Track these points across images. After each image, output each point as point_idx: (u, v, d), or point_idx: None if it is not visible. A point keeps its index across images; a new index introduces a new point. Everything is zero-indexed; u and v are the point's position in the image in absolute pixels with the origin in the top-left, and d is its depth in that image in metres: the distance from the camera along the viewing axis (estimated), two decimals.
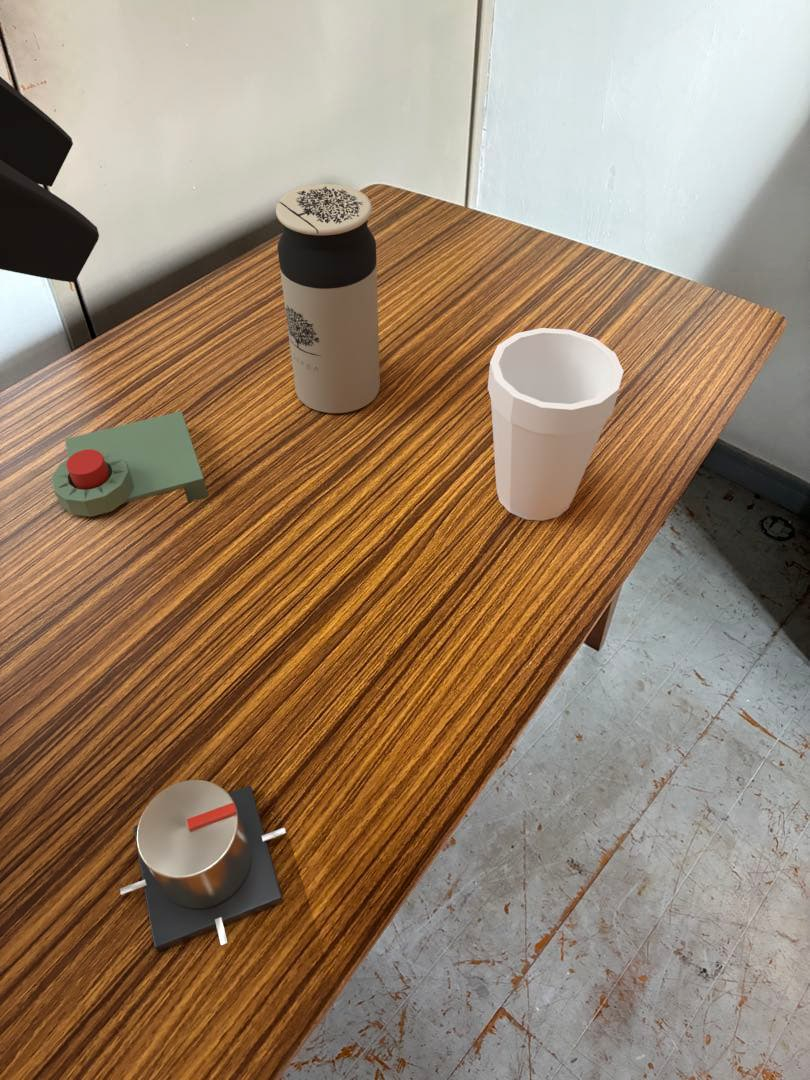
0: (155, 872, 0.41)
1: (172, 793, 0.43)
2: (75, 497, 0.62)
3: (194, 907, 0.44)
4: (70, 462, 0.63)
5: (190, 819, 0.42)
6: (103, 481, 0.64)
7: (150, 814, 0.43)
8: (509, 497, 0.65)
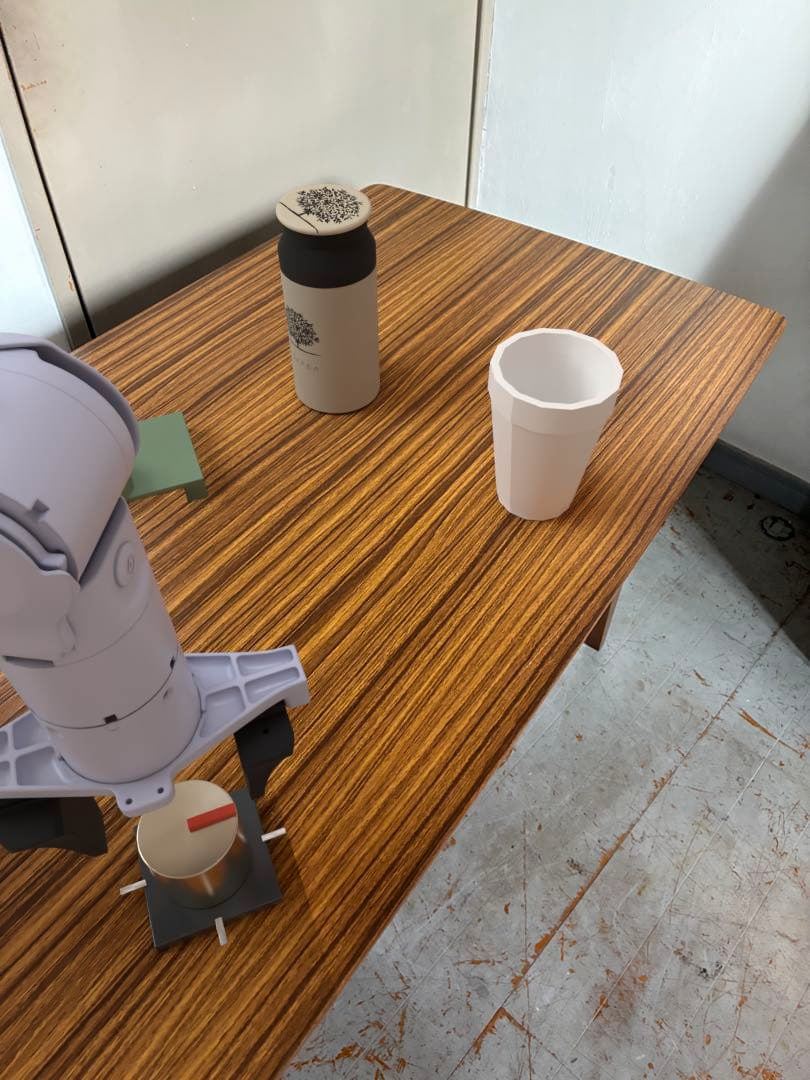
0: (155, 872, 0.41)
1: None
2: None
3: (194, 907, 0.44)
4: None
5: (190, 819, 0.42)
6: None
7: (150, 814, 0.43)
8: (509, 497, 0.65)
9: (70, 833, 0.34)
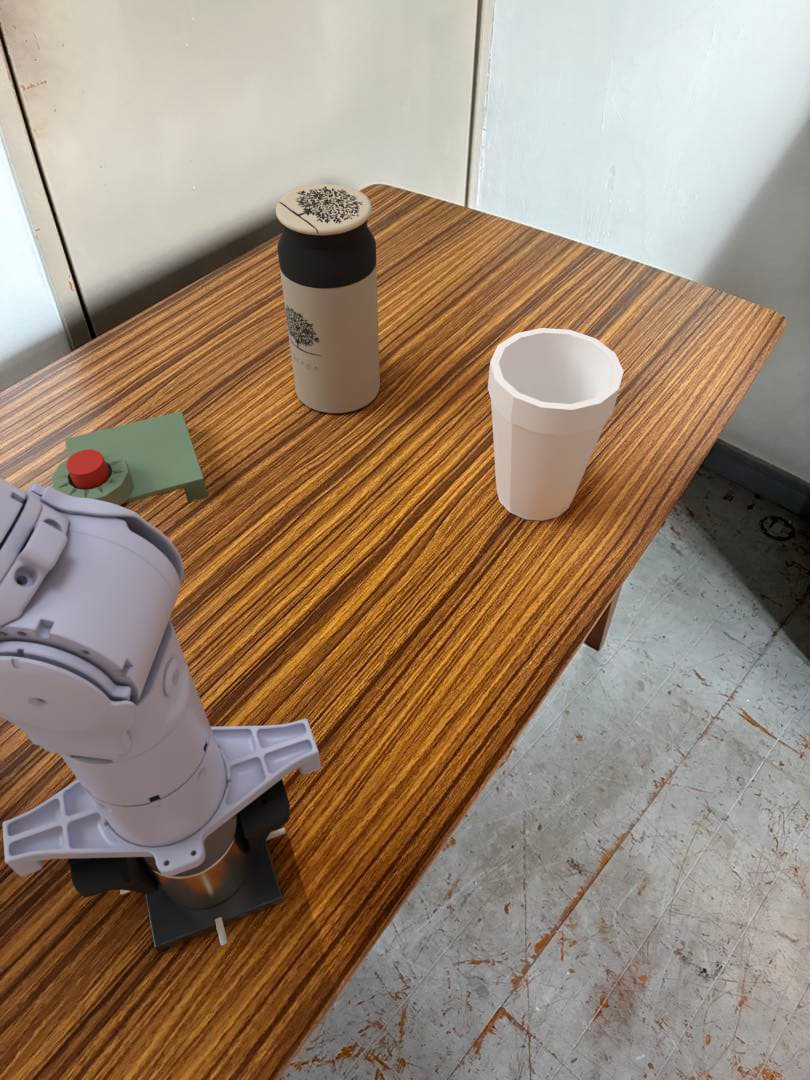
0: (155, 872, 0.41)
1: None
2: None
3: (194, 907, 0.44)
4: (70, 462, 0.63)
5: None
6: (103, 481, 0.64)
7: None
8: (509, 497, 0.65)
9: (133, 878, 0.39)
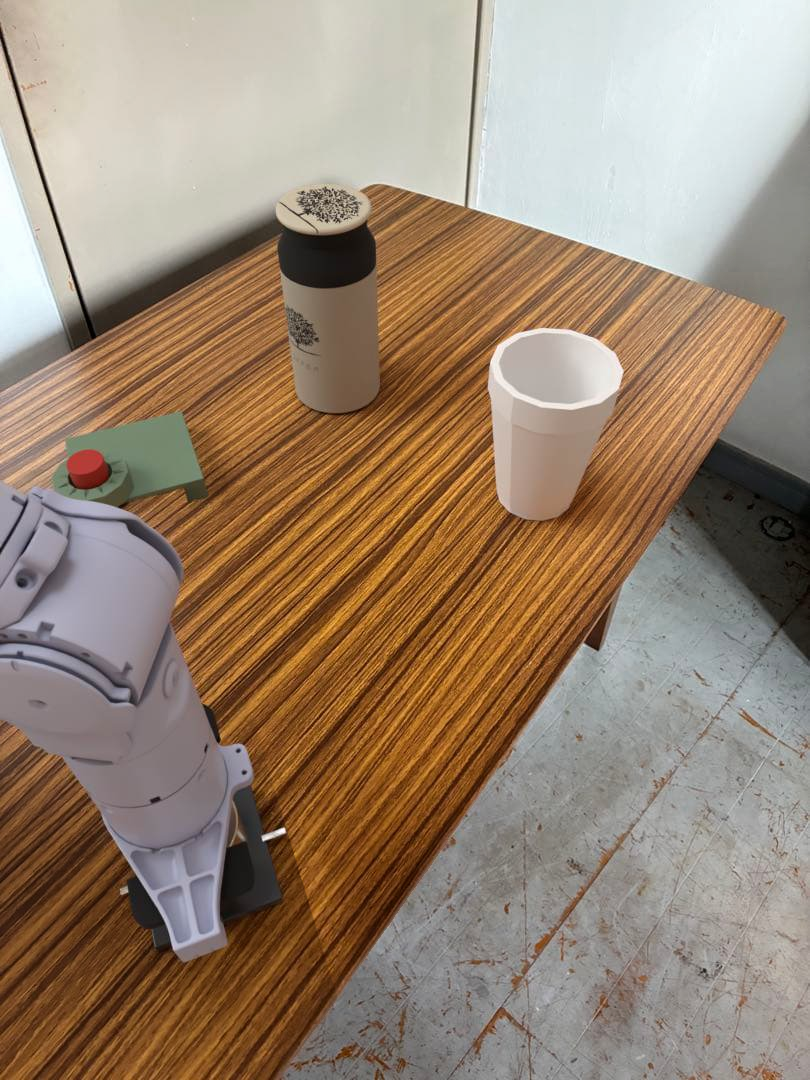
0: None
1: None
2: (75, 497, 0.62)
3: None
4: (70, 462, 0.63)
5: None
6: (103, 481, 0.64)
7: None
8: (509, 497, 0.65)
9: None
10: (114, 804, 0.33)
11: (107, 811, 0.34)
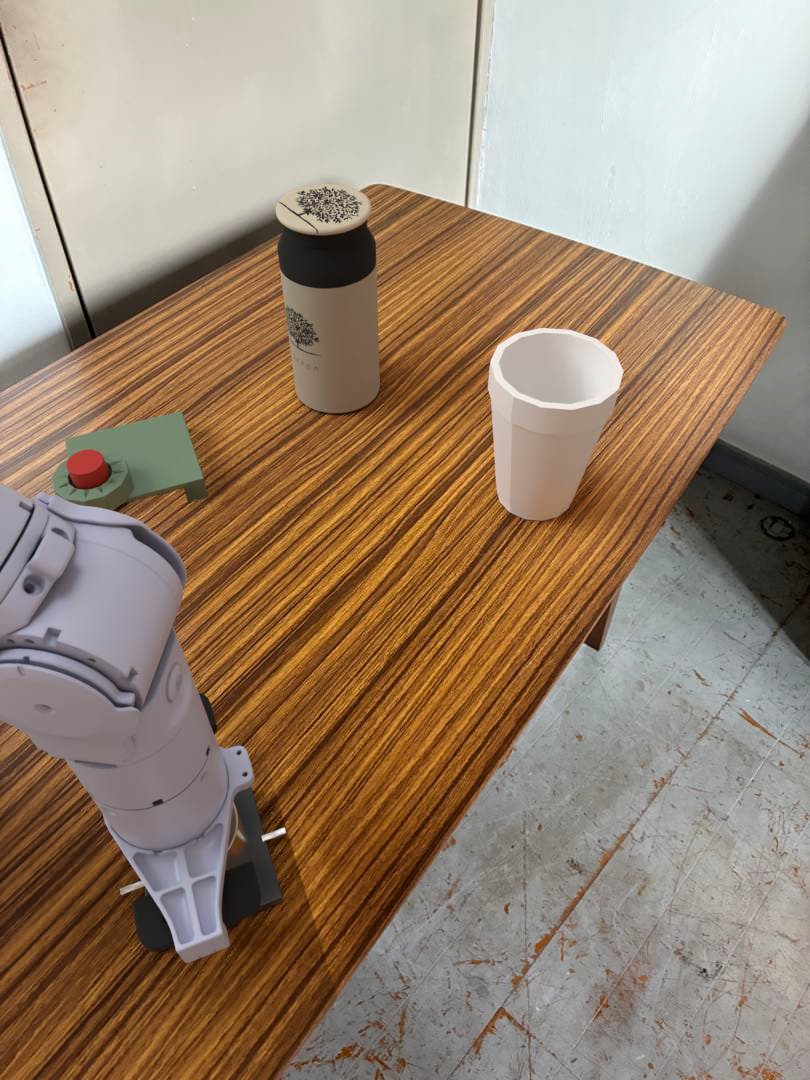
0: (228, 851, 0.41)
1: None
2: (75, 497, 0.62)
3: (250, 860, 0.46)
4: (70, 462, 0.63)
5: None
6: (103, 481, 0.64)
7: None
8: (509, 497, 0.65)
9: None
10: (117, 807, 0.33)
11: (110, 814, 0.34)
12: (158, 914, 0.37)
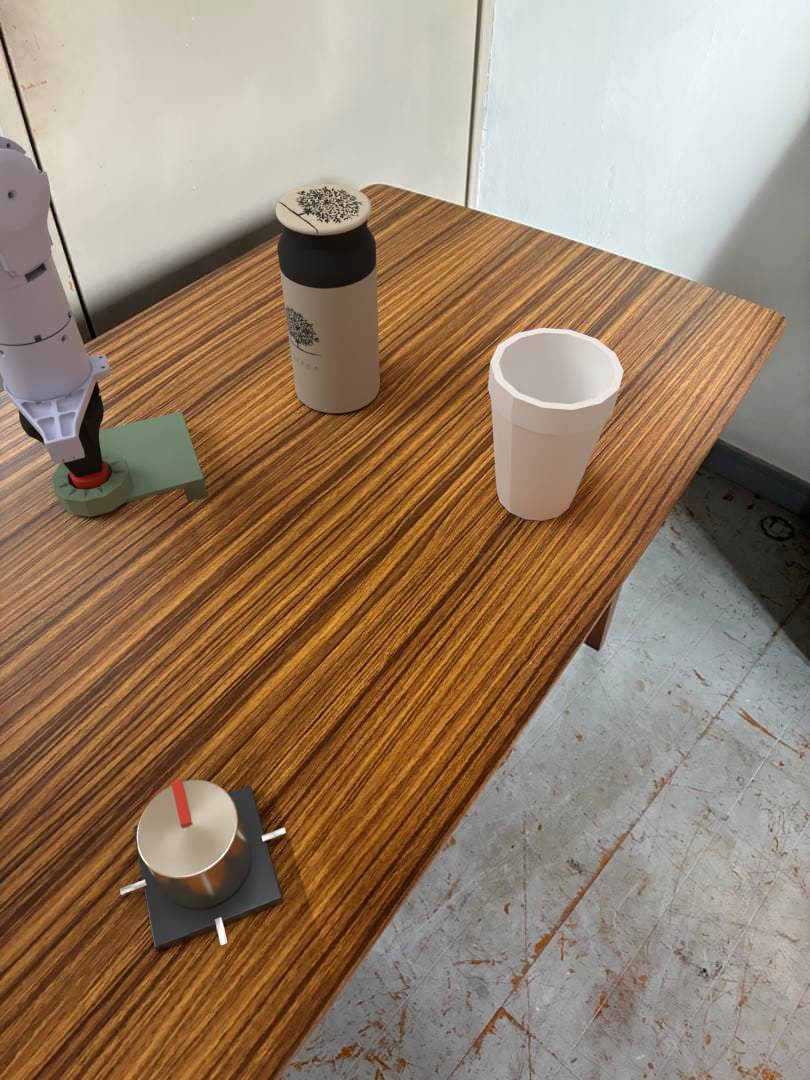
0: (228, 851, 0.41)
1: (148, 848, 0.41)
2: (75, 497, 0.62)
3: (250, 860, 0.46)
4: None
5: (181, 821, 0.42)
6: None
7: (167, 866, 0.41)
8: (509, 497, 0.65)
9: None
10: (56, 329, 0.52)
11: (1, 356, 0.52)
12: None
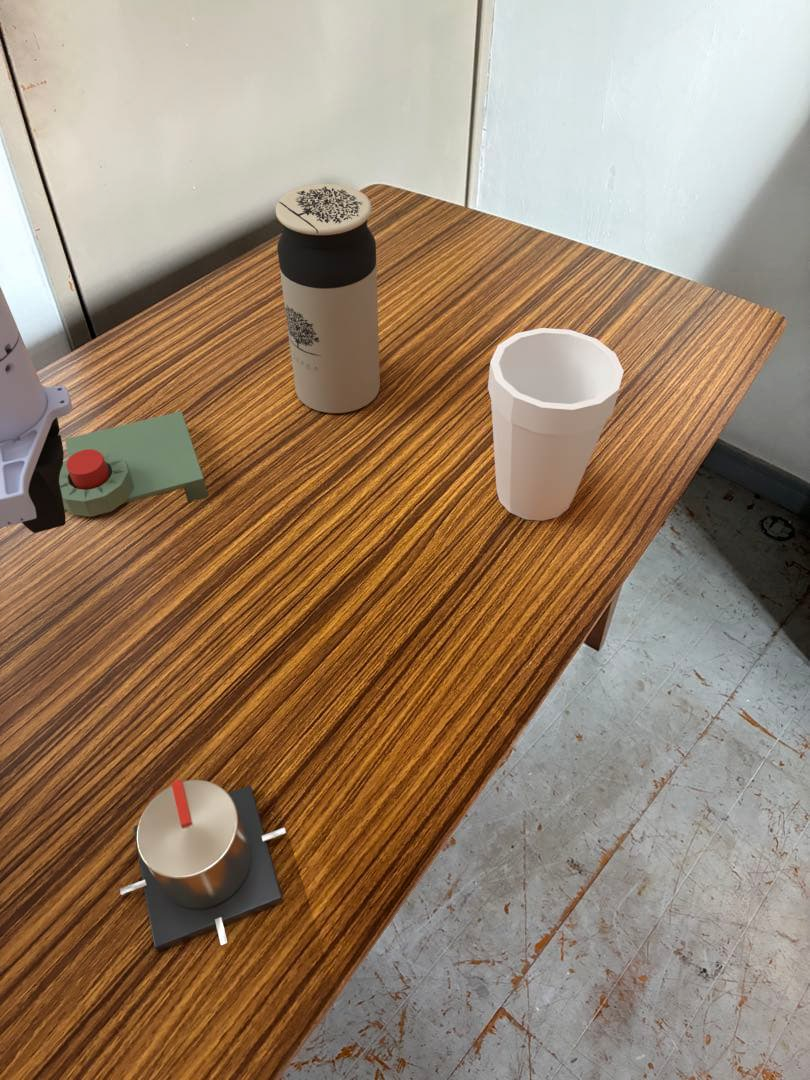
0: (228, 851, 0.41)
1: (148, 848, 0.41)
2: (75, 497, 0.62)
3: (250, 860, 0.46)
4: (70, 462, 0.63)
5: (181, 821, 0.42)
6: (103, 481, 0.64)
7: (167, 866, 0.41)
8: (509, 497, 0.65)
9: None
10: None
11: None
12: None
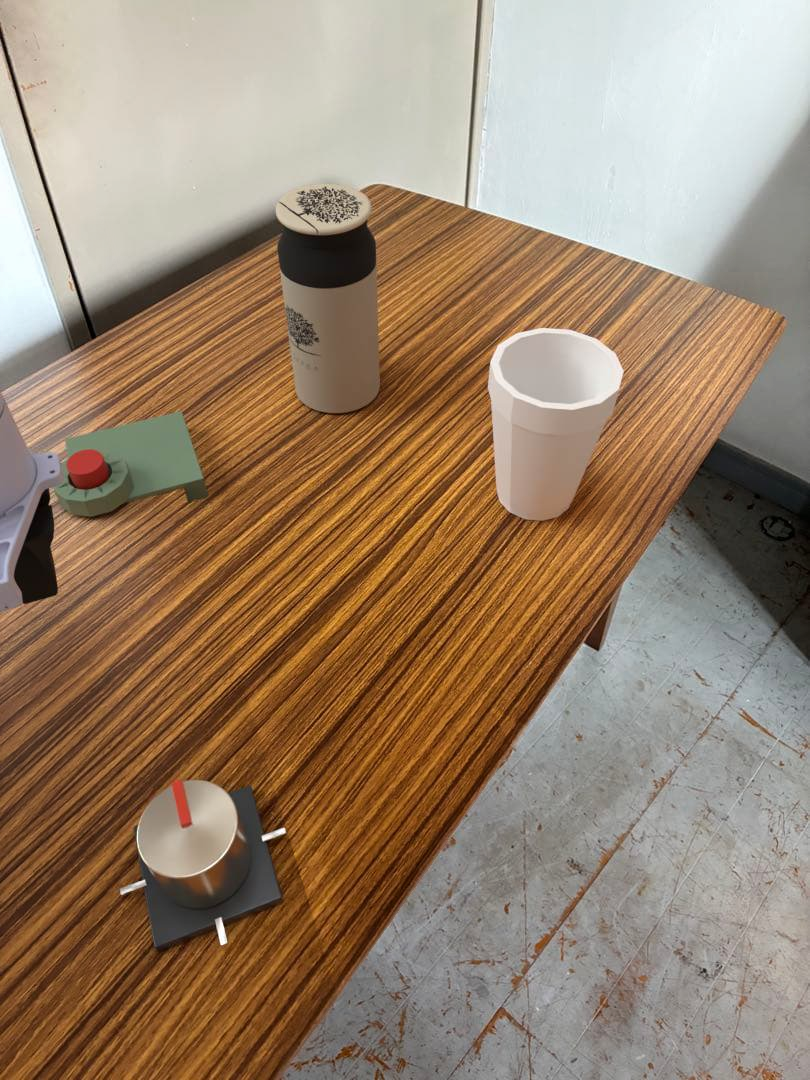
0: (228, 851, 0.41)
1: (148, 848, 0.41)
2: (75, 497, 0.62)
3: (250, 860, 0.46)
4: (70, 462, 0.63)
5: (181, 821, 0.42)
6: (103, 481, 0.64)
7: (167, 866, 0.41)
8: (509, 497, 0.65)
9: None
10: None
11: None
12: None
